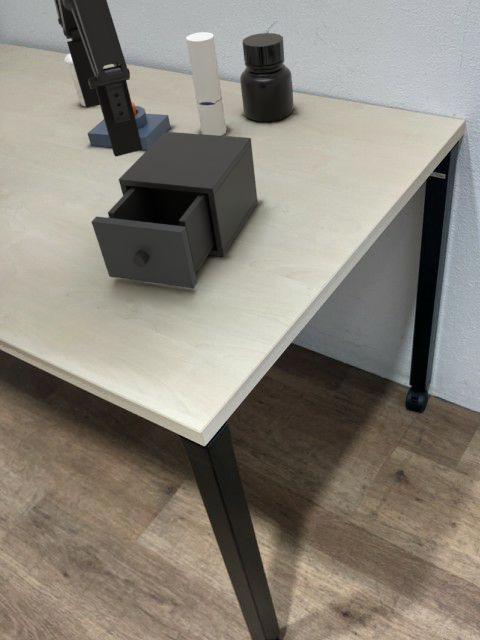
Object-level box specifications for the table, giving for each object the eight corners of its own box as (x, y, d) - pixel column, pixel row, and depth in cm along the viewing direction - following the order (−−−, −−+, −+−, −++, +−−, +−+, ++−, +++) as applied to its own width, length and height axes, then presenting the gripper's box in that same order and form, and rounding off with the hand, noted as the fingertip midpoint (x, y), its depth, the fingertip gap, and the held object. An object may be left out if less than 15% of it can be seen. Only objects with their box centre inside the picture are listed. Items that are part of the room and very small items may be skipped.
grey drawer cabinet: (223, 256, 78) (212, 188, 71) (136, 245, 82) (118, 179, 75) (257, 202, 87) (251, 137, 80) (178, 194, 90) (164, 131, 84)
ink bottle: (303, 106, 110) (300, 33, 101) (281, 126, 105) (276, 51, 96) (257, 99, 113) (250, 28, 105) (233, 118, 108) (223, 45, 100)
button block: (90, 145, 104) (84, 122, 102) (115, 123, 110) (110, 101, 107) (148, 150, 102) (142, 126, 99) (170, 127, 107) (166, 104, 105)
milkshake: (87, 111, 115) (71, 54, 108) (73, 104, 118) (56, 48, 111) (108, 103, 117) (93, 47, 110) (94, 96, 120) (78, 41, 113)
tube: (218, 124, 107) (204, 30, 96) (231, 131, 104) (218, 36, 94) (197, 131, 105) (181, 37, 95) (210, 139, 103) (195, 43, 92)
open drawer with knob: (189, 295, 72) (176, 238, 66) (104, 282, 75) (85, 227, 69) (230, 232, 81) (222, 177, 75) (153, 223, 84) (140, 169, 78)
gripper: (125, -135, 41) (183, 165, 56) (60, -156, 57) (119, 80, 72) (10, -120, 39) (102, 187, 54) (-22, -146, 55) (55, 94, 70)
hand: (112, 126), depth 63 cm, fingers open, 13 cm apart
